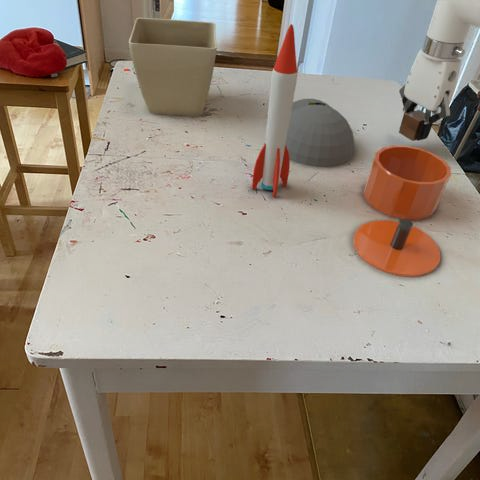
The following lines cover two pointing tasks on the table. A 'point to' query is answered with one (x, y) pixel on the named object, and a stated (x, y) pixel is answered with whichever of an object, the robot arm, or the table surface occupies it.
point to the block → (411, 124)
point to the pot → (406, 182)
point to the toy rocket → (278, 120)
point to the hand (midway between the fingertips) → (413, 133)
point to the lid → (396, 248)
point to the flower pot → (173, 64)
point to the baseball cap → (318, 135)
